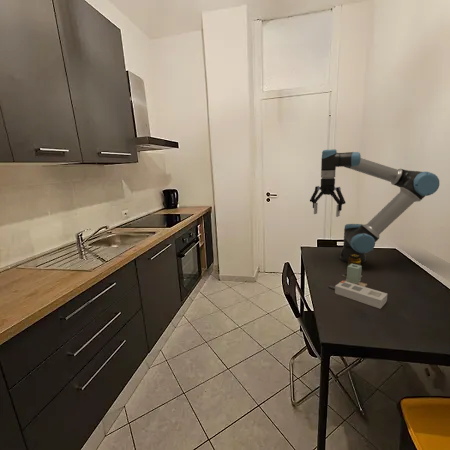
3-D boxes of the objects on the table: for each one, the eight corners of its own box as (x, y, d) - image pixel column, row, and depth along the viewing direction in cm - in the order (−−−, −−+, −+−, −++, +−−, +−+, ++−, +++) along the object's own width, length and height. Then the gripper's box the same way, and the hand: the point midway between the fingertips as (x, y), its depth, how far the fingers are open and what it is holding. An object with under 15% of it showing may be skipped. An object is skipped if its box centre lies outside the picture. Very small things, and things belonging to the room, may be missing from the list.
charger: (350, 281, 136) (351, 263, 134) (360, 284, 133) (361, 265, 130) (346, 284, 133) (347, 266, 131) (356, 287, 130) (357, 268, 127)
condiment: (362, 276, 143) (364, 255, 140) (354, 280, 139) (355, 259, 136) (350, 271, 149) (351, 252, 146) (341, 275, 145) (342, 255, 142)
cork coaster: (347, 279, 140) (347, 278, 140) (367, 285, 133) (367, 284, 133) (339, 285, 134) (339, 284, 133) (359, 292, 126) (359, 291, 126)
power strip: (325, 290, 130) (325, 282, 129) (332, 284, 135) (332, 277, 134) (380, 308, 112) (381, 299, 111) (386, 301, 117) (387, 293, 116)
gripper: (304, 178, 153) (303, 213, 158) (347, 178, 135) (345, 218, 140) (311, 177, 158) (310, 211, 163) (353, 177, 140) (350, 216, 145)
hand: (326, 215), depth 151 cm, fingers open, 13 cm apart
